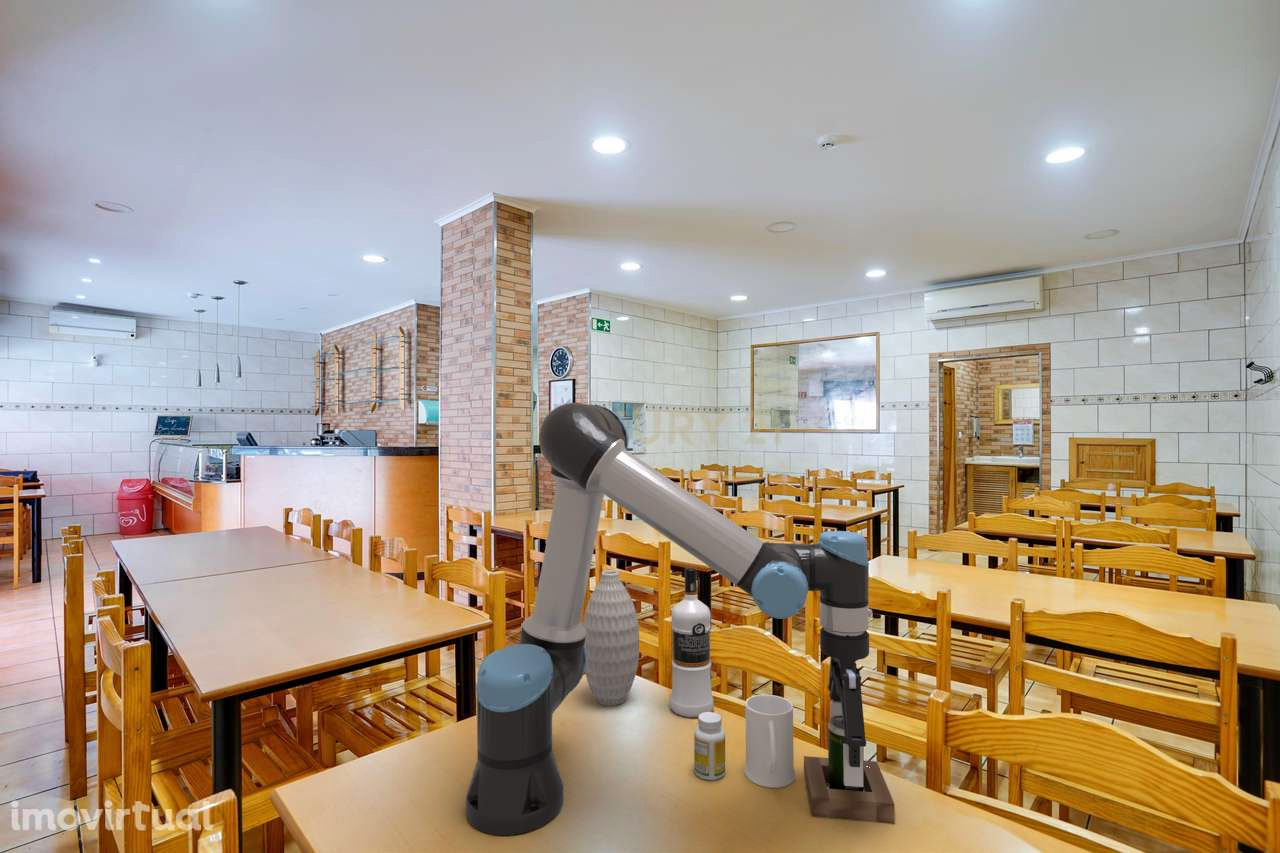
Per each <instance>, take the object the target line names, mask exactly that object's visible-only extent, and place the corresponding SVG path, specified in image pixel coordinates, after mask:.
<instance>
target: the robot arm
mask: <svg viewBox="0 0 1280 853" xmlns="http://www.w3.org/2000/svg"><path fill="white" fill-rule="evenodd" d="M538 433H539V434H538V442H539V448H540V451H541V454H542V455H543V458H544V459H545V460H546V462H547V463H548V464H549V465H550V466H551V468H550V469H551V470H550V477H552V479H553V480H554V482H555V484H556V488H555V495H554V500H553V504H552V511H551V516H550V521H549V526H548V531H547V538H546V542H545V543H546V544H545V549H544V554H543V559H542V563H541V569H540V573H539V574H540V576H539V582H538V585H537V586H538V587H537V593H536V598H535V602H534V608H533V612H532V614H531V615H530V616H528V617H527V618H525V619H524V620H523V622H522V624H521V626H522V627H521V630H520V637H519V641H518V644H514V645H513V644H511V645H509V646H508V645H507V646H506V647H505V648H499V649H497V650H494V651H493V652H491V653H490V654H488V655H487V656H486V657H485V658H484V659H483V660H482V661H481V663H480V665H479V667H478V669H477V678H476V679H477V680H476V684H475V694H476V727H477V728H476V734H477V735H476V738H477V739H476V740H477V741H476V742H477V743H476V744H477V745H476V746H477V747H476V748H477V756H476V759H477V760H476V764H475V767H474V769H473V770H474V771H473V773H472V776H471V779H470V783H469V785H468V789H467V792H466V796H465V816H466V819H467V821H468V822H469V824H471V825H472V827H474V828H475V829H477V830H479V831H481V832H483V833H487V834H490V835H497V836H511V835H518V834H524V833H528V832H530V831H534V830H538V829H540V828H541V827H543V826H545V825H547V824H548V823H550V822H551V821H552V820H553V819H554V818H556V817H557V815H558V814H559V813H560V812H561V810H562V809H563V806H564V784H563V780H562V777H561V775H560V771H559V768H558V765H557V761H556V759H555V756H554V754H553V716H554V713H555V711H556V710H557V709H558V708H559V707H560V705H561V704H562V703H563V702H564V700H566V698H567V697H568V695H569V694H570V693H572V692H573V690H574V689H575V688H576V687H577V686H578V684H580V682H581V680H582V678H583V675H584V673H585V668H586V664H587V650H586V646H585V644H584V643H585V638H586V629H585V628H584V626H583V623H582V622H581V619H582V614H583V608H584V603H585V598H586V592H587V588H588V581H589V576H590V571H591V566H592V560H593V555H594V550H595V545H596V544H595V543H596V539H597V534H598V528H599V523H600V519H601V518H600V517H601V512H602V507H603V501H604V496H605V497H607V498H608V499H610V500H612V501H613V502H614V503H616V504H618V505H619V506H621V507H622V508H623V509H625V510H626V511H628V512H629V513H631V514H632V515H634V516H635V517H636V518H638V519H640V520H641V521H642V522H643V523H645V524H647V525H648V526H650V527H651V528H652V529H654V530H655V531H657V532H658V533H660V534H661V535H662V536H664V537H665V538H666V539H669V540H670V541H671V542H673V543H674V544H675V545H677V546H679V547H680V548H682V549H683V550H685V551H686V552H687V553H689V554H690V555H692V556H693V557H694V558H696V559H697V560H699V561H700V562H701V563H703V564H705V565H706V566H707V567H709V568H710V569H711V570H713V571H714V572H716V573H718V574H720V575H721V576H722V577H724V578H725V579H726V580H728V581H729V582H730V583H733V584H734V585H735V586H736V587H738V588H739V589H741V590H742V591H743V592H745V593H746V594H748V595H749V596H750V597H752V599H753V601H754V602H755V604H756V606H757V607H758V609H759V610H760V611H761V612H762V613H764V614H765V615H766V616H769V617H771V618H774V619H780V620H782V619H789V618H792V617H794V616H795V615H797V614H798V613H800V612H801V611H802V610H803V609H804V606H805V604H806V602H807V597H808V594H809V592H819V625H820V626H821V628H820V630H819V635H820V637H819V640H820V641H819V642H820V644H819V645H820V651H821V652H822V653H823V654H824V655H826V656H827V657H830V658H829V659H830V660H829V661H830V662H829V674H828V686H827V689H828V692H829V694H828V695H829V698H830V701H829V702H830V703H829V704H830V705H829V709H830V710H829V712H830V714H829V716H830V718H831V717H833V716H840V715H842V716H843V725H844V734H845V737H844V738H841V739H840V743H841V744H843V765H844V785H845V786H856V787H863V761H864V747H866V746H867V740H866V732H865V722H864V721H865V720H864V710H863V709H864V708H863V697H862V696H863V694H862V676H861V674H860V668H858V667H857V661H859V660H863V659H864V660H865V659H866V658H867V657H868V656H869V655H870V633H869V632H868V631H867V630H869V627H870V626H869V625H870V624H869V622H870V620H869V616H871V615H873V610H872V609H871V608H869V584H870V583H869V579H870V578H869V565H870V563H869V555H868V541H867V539H866V537H864V535H863V534H861V533H858V532H854V531H844V530H834V531H833V530H832V531H831V530H827V531H823V532H821V533H820V534H819V536H818V541H817V543H813V544H810V543H809V544H806V543H785V542H784V543H781V542H770V541H762V540H761V539H759V538H758V537H756V536H755V535H753V534H752V533H750V532H749V531H747V530H746V529H745V528H743V527H741V526H740V525H738V524H737V523H735V522H734V521H733V520H731V519H729V518H728V517H727V516H726V515H723V514H722V513H721V512H720V511H718V510H716V509H715V508H713V507H712V506H710V505H709V504H707V503H706V502H704V501H703V500H701V499H700V498H698V497H696V496H695V495H694V494H692V493H691V492H689V491H688V490H686V489H685V488H684V487H682V486H681V485H679V484H677V483H676V482H675V481H673V480H671V479H670V478H668V477H667V476H665V475H664V474H662V473H661V472H659V471H658V470H657V469H655V468H654V467H652V466H650V464H648V463H646V462H645V461H643V460H641V459H640V458H639V457H637V456H636V455H634V454H633V453H631V452H629V451H628V448H629V447H628V446H629V440H630V439H629V432H628V428H627V426H626V424H625V423H624V420H623V419H622V418H621V417H620V416H619V415H618V414H617V413H615V411H613V410H611V409H609V408H608V407H604V406H602V405H599V404H589V403H587V404H586V403H582V402H581V403H580V402H568V403H564V404H561V405H559V406H557V407H555V408H553V409H552V410H551V411H550V412H548V414H547V415H546V417H545V418H544V420H543V421H542V423H541V425H540V428H539V432H538ZM830 718H829V719H830Z"/></svg>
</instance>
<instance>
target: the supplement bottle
mask: <svg viewBox="0 0 1280 853" xmlns="http://www.w3.org/2000/svg"><path fill="white" fill-rule="evenodd" d="M697 719H698V720H697V723H698V725H697V727H695V730H694V733H693V737H694V738H693V739H694V740H693V742H694V745H693V750H694V751H693V752H694V754H693V755H694V756H693V757H694V758H693V759H694V762H693V764H694V765H693V766H694V768H693V769H694V773H695V774H696V776H697V777H699V778H700V779H702V780H706V781H716V780H719V779H721V778H723V777H724V776H725V774H726V731H725V730H724V728H723V727H722V724H723V723H722V720H723V719H722V717H721V715H720V714H719V713H716V712H713V711H711V712H704V713H701V714H700V715H699V716H698V717H697Z"/></svg>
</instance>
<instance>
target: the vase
mask: <svg viewBox="0 0 1280 853" xmlns="http://www.w3.org/2000/svg"><path fill="white" fill-rule="evenodd" d="M584 611H585V612H584V615H583V620H582V625H583V626H584V628H585V629H586V638H585V643H584V644H585V646H586V650H587V664H586V668H585V671H584V673H585V677H586V681H587V684H588V686H589V689H590V691H591V692H592V695H593V696H594V698H595V699H596V701H597V703H598V704H600V705H602V706H609V707H610V706H618V705H621V704H623V703H624V702H625V701H626V699H627V696H628V695H629V693H630V691H631V689H632V687H633V684H634V682H635V678H636V675H637V672H638V666H639V665H638V664H639V659H640V630H639V629H640V628H639V621H638V615H637V611H636V607H635V604H634V602H633V600H632V597H631V595H630V593H629V591H627V589H626V587H625V585H624V583H623V582H622V580H621V577H620V572H619V571H618V570H613V569H611V570H608V569H607V570H603V571H601V576H600V580H599V581H598V583H597V584H596V586H595V588H594V590H593V592H592V593H591V595H590V597H589V599H588V602H587V605H586V608H585V610H584Z"/></svg>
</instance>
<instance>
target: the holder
mask: <svg viewBox="0 0 1280 853" xmlns="http://www.w3.org/2000/svg"><path fill="white" fill-rule="evenodd" d="M863 763H864V792H863V791H851V790H839V789H829V788H828V787H827V785H829V771H828V757H821V756H820V757H819V756H807V755H803V775H804V776H803V777H804V781H805V788H806V791H807V797H808V798H807V799H808V802H809V807H810V812H811V817H813V818H822V819H823V818H825V819H826V818H827V819H835V820H848V821H858V822H867V823H868V822H871V823H880V824H891V825H895V824H896V823H895V814H896V811H895V810H896V809H895V808H896V807H895V802H894V799H893V797H892V795H891V793H890V789H889V788H888V785H887V783H886V781H885V777H884V776H883V775H884V774H883V773H882V770H881V768H880V766H879V764H878V761H874V760H873V761H872V760H863ZM866 766H868V767H866ZM869 767H870V768H869Z"/></svg>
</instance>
